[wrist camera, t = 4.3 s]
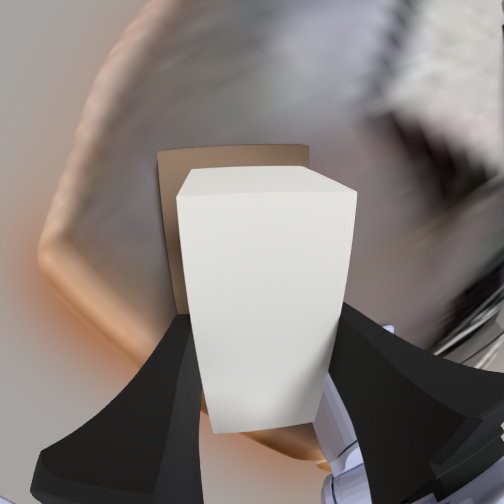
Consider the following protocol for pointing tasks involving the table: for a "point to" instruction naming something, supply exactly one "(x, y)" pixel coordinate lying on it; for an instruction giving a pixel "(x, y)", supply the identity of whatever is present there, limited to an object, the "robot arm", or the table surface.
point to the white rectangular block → (264, 288)
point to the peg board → (184, 159)
